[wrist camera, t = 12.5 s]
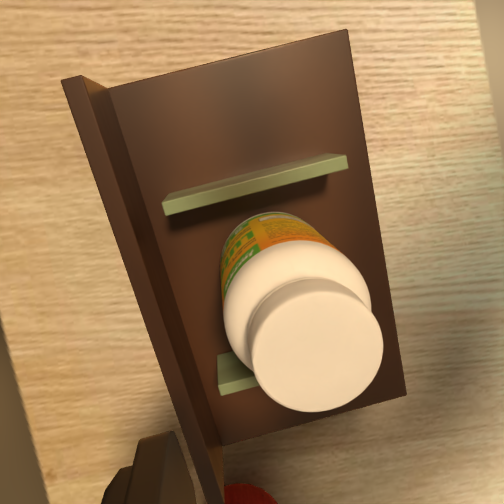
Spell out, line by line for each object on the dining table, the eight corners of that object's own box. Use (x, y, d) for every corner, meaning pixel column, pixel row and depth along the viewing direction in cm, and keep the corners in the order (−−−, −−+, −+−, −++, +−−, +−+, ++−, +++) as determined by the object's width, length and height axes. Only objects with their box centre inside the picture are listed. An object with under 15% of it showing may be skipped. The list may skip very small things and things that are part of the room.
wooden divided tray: (320, 50, 24) (382, -1, 15) (375, 353, 29) (444, 443, 21) (115, 102, 24) (59, 79, 15) (209, 399, 29) (209, 509, 20)
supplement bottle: (231, 200, 21) (249, 250, 11) (335, 221, 21) (431, 285, 12) (210, 300, 22) (210, 422, 12) (308, 318, 23) (377, 443, 13)
